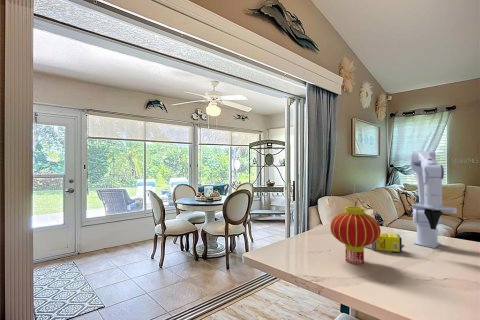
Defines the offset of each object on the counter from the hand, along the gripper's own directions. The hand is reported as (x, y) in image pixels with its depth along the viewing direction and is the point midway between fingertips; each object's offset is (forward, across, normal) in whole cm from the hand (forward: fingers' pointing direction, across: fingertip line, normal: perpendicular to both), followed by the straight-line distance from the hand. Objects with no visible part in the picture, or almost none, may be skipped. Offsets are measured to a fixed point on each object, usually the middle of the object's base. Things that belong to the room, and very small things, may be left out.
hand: (433, 228), depth 106 cm
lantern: (+11, -17, -31) cm, 37 cm away
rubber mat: (+10, -20, -4) cm, 23 cm away
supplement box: (+7, -10, -5) cm, 13 cm away
